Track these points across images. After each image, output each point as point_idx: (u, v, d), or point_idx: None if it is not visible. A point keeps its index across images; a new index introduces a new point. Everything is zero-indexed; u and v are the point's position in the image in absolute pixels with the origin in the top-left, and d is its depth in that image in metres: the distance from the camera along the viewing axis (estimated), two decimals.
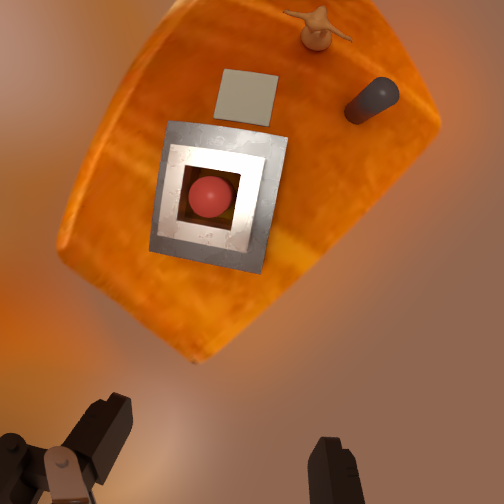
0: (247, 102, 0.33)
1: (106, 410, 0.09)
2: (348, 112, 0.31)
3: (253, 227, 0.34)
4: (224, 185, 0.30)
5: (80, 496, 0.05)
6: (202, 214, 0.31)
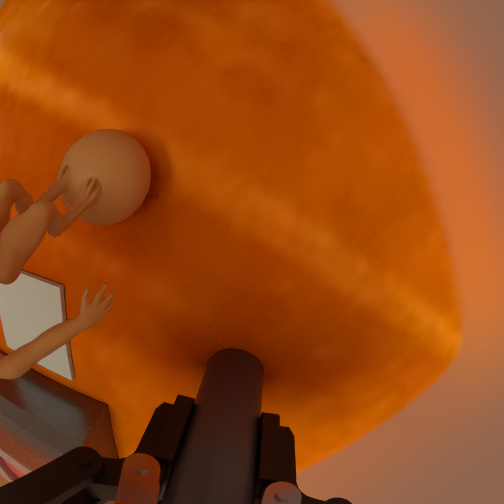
0: (32, 334, 0.15)
1: (176, 412, 0.10)
2: None
3: None
4: None
5: None
6: None
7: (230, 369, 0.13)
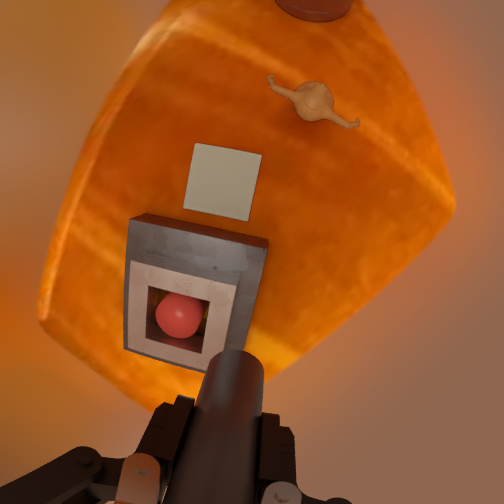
0: (222, 190, 0.30)
1: (176, 412, 0.10)
2: None
3: (227, 340, 0.31)
4: (192, 309, 0.27)
5: None
6: (171, 334, 0.28)
7: (231, 369, 0.13)
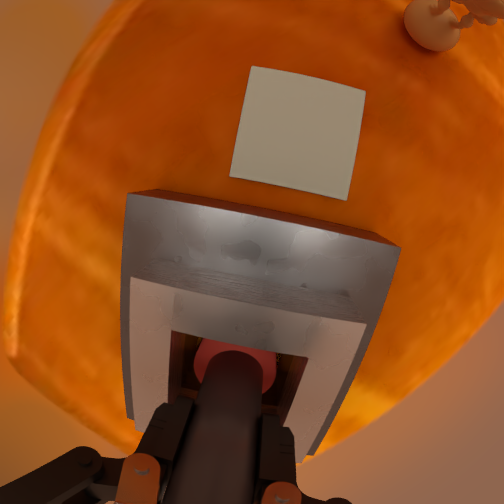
0: (303, 144, 0.16)
1: (176, 412, 0.10)
2: None
3: None
4: (267, 353, 0.14)
5: None
6: None
7: (230, 370, 0.13)
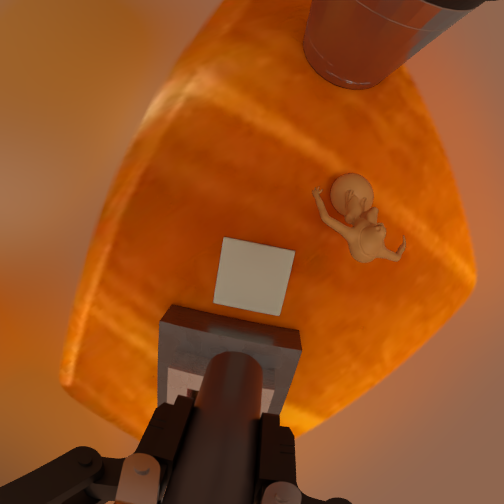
0: (254, 286, 0.30)
1: (176, 412, 0.10)
2: None
3: None
4: None
5: None
6: None
7: (230, 371, 0.13)
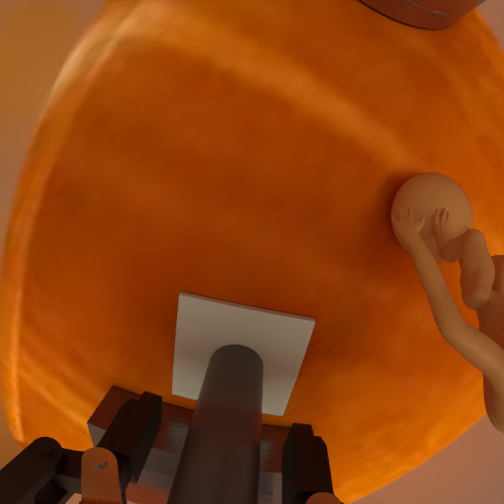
0: None
1: (140, 409, 0.09)
2: None
3: None
4: None
5: (112, 498, 0.05)
6: None
7: (233, 363, 0.13)
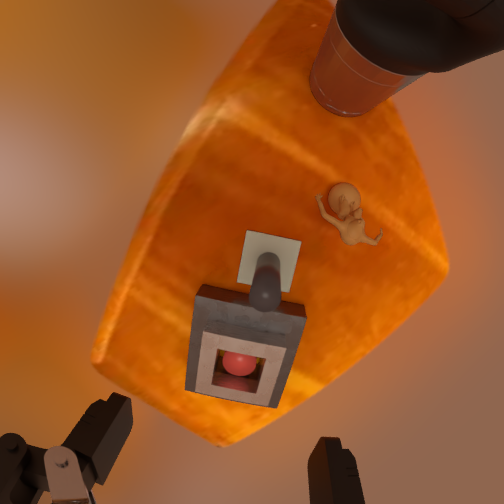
0: None
1: (106, 410, 0.09)
2: None
3: None
4: (252, 356, 0.37)
5: (80, 496, 0.05)
6: (234, 373, 0.37)
7: (269, 256, 0.36)
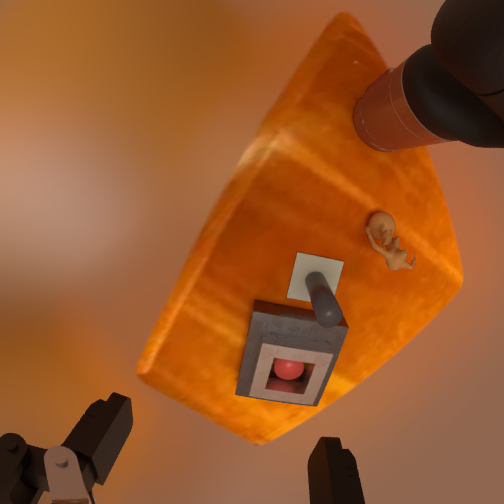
0: None
1: (106, 410, 0.09)
2: None
3: None
4: (301, 362, 0.41)
5: (80, 496, 0.05)
6: (283, 378, 0.42)
7: (318, 275, 0.40)
